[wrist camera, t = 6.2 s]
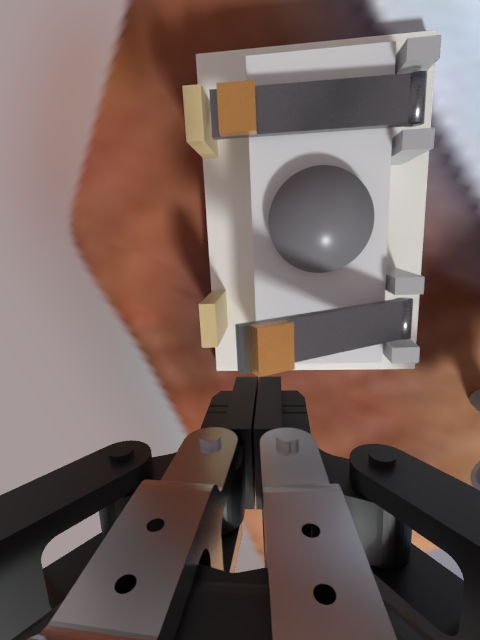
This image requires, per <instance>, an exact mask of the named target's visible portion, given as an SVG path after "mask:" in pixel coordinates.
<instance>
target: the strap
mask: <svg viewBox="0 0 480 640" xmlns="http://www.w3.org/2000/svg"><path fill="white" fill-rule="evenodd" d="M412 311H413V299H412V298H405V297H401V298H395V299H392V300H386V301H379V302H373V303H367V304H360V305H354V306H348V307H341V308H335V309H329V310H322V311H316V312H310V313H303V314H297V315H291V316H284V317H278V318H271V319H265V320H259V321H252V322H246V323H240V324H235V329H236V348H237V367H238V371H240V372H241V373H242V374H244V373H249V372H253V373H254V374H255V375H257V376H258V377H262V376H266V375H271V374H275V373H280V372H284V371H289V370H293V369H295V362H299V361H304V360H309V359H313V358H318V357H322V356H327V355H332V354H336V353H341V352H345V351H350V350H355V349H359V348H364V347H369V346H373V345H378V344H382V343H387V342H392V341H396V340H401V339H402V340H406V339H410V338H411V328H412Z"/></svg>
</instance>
